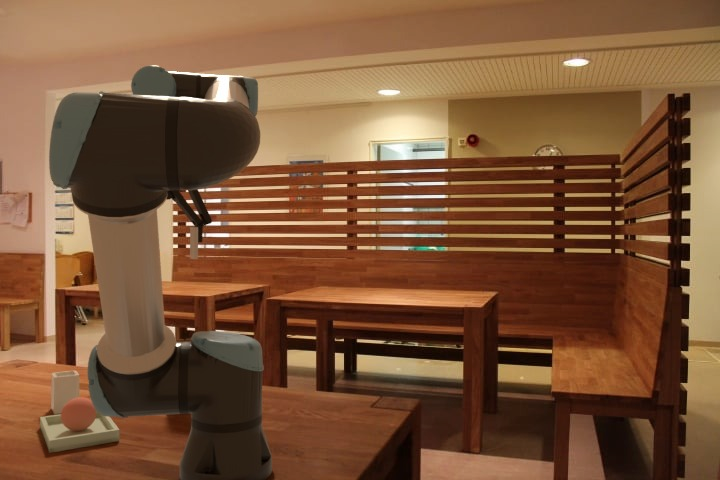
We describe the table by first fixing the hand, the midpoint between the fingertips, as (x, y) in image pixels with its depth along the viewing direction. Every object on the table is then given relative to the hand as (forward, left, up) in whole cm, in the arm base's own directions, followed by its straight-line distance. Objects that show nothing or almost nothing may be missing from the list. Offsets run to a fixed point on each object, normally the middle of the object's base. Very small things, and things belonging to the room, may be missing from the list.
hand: (160, 259), depth 121 cm
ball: (+7, +14, -31) cm, 34 cm away
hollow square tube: (+26, +14, -35) cm, 45 cm away
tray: (+7, +14, -35) cm, 38 cm away
